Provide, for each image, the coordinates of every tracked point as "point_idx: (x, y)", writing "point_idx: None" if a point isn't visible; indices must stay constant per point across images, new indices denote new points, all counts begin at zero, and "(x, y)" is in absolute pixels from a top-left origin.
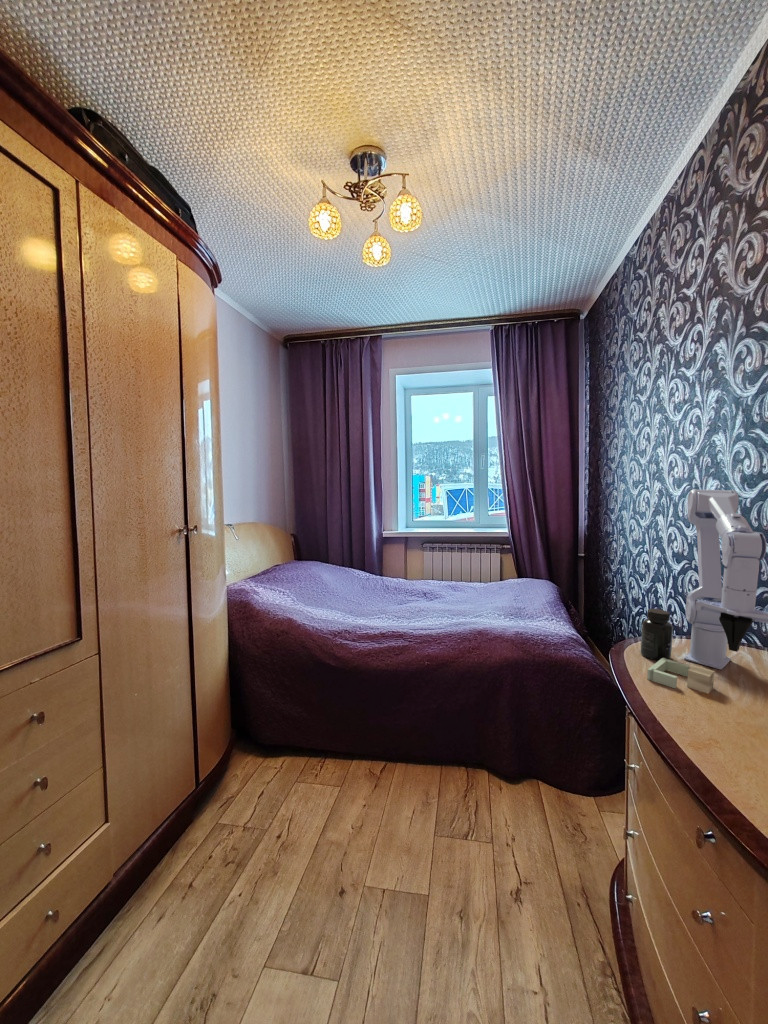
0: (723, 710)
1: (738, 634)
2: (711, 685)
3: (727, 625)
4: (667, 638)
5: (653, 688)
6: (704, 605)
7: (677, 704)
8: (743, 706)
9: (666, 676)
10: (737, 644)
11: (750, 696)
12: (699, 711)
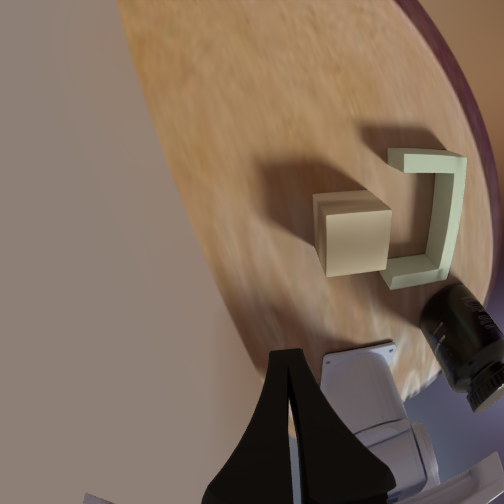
0: (242, 113)
1: (265, 430)
2: (317, 231)
3: (336, 462)
4: (454, 344)
5: (421, 100)
6: (476, 498)
7: (341, 41)
8: (218, 194)
9: (424, 153)
10: (268, 380)
11: (232, 275)
12: (283, 46)
